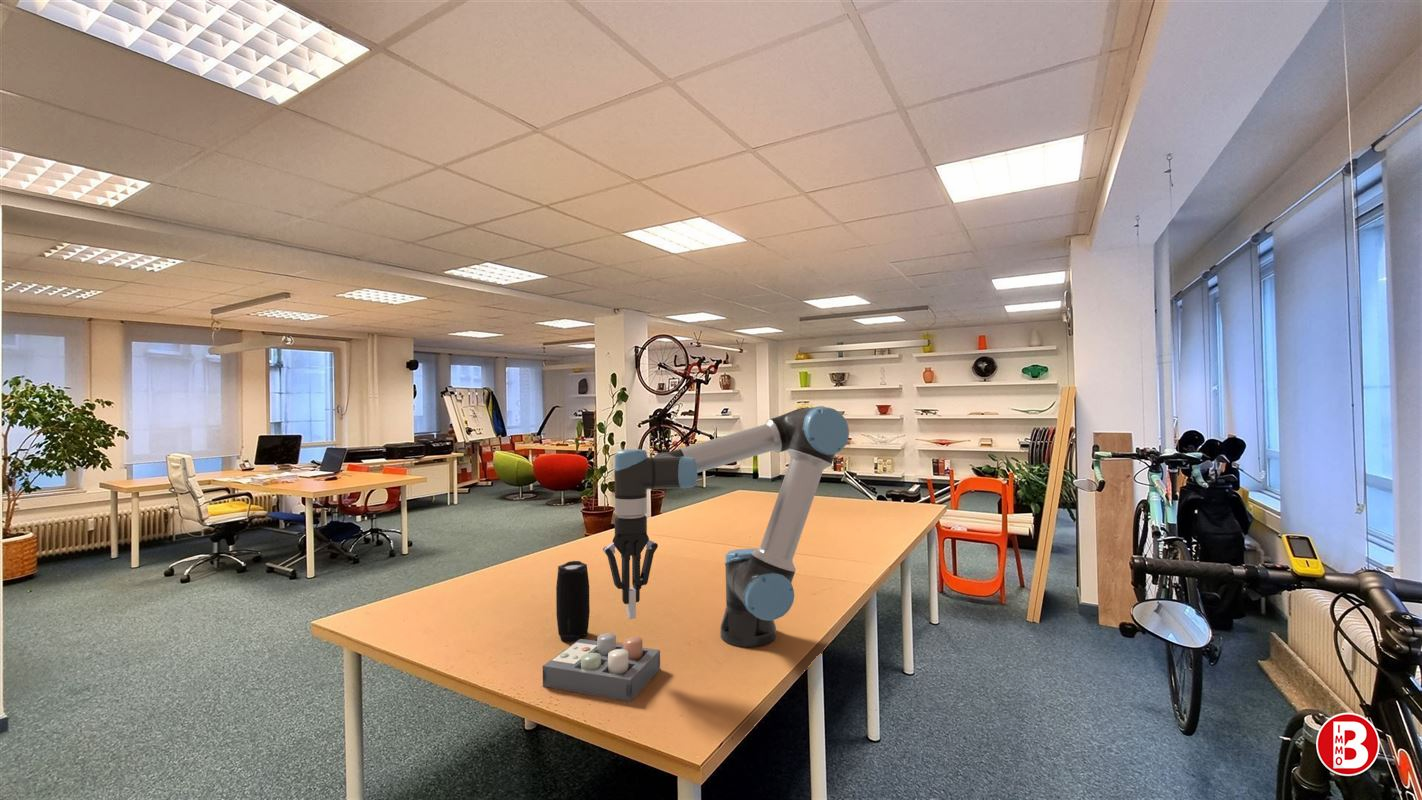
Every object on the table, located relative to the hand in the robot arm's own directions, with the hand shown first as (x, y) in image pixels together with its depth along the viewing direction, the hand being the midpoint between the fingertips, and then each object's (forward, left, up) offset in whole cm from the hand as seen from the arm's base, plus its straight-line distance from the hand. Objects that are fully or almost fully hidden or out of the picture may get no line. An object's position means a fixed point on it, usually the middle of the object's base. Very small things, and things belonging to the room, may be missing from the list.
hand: (631, 616), depth 124 cm
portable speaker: (+26, -15, -14) cm, 33 cm away
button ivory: (0, +7, -10) cm, 12 cm away
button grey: (+7, 0, -10) cm, 12 cm away
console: (+6, +3, -13) cm, 15 cm away
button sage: (+7, +7, -12) cm, 15 cm away
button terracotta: (0, 0, -10) cm, 10 cm away
